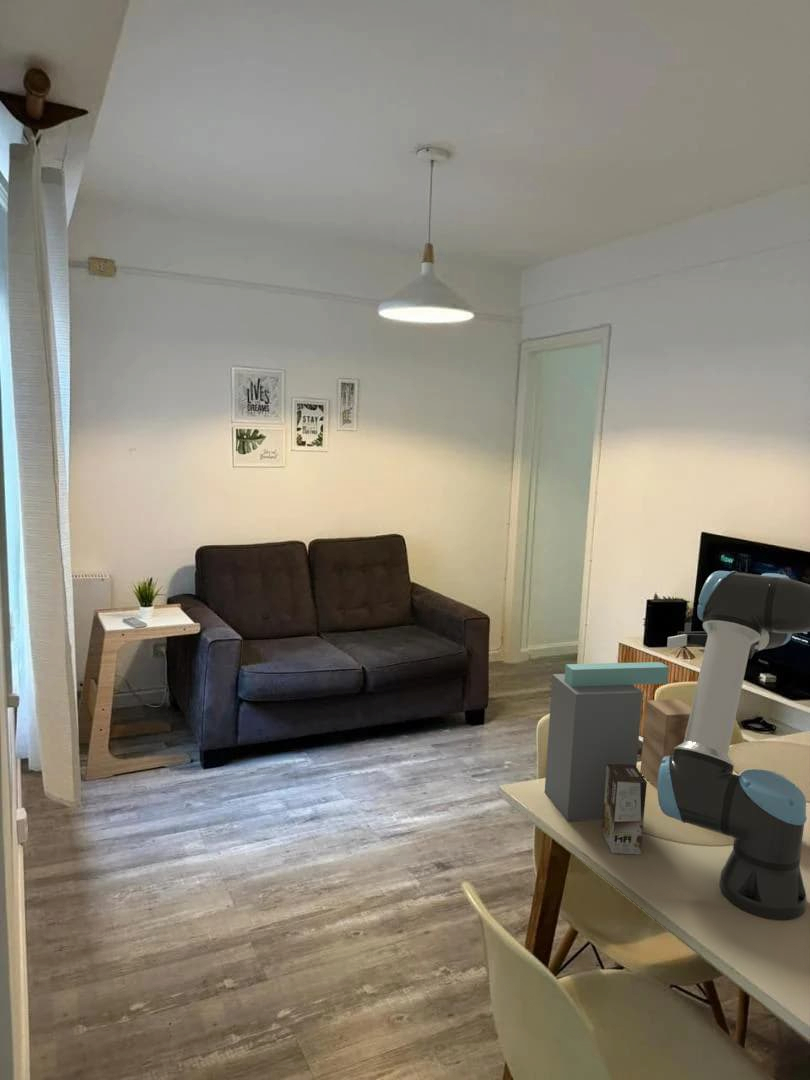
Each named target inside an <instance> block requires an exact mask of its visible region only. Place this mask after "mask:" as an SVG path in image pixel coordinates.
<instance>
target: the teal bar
mask: <svg viewBox="0 0 810 1080" xmlns="http://www.w3.org/2000/svg"><path fill="white" fill-rule="evenodd" d="M669 670H670V667H669V666H668V665H666V664H665V663H662V662H661V661H648V662H647V661H646V662H643V661H642V662H607V663H605V662H604V663H570V664H569V663H568V664H566V663H565V665H564V674H565V679H564V681H565V682H566V683H567V684H569V685H570V686H571V687H575V686H607V685H633V686H637V685H661V684H662V685H663V684H665V685H667V684H668V681H669Z"/></svg>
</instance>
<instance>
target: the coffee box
mask: <svg viewBox="0 0 810 1080" xmlns="http://www.w3.org/2000/svg"><path fill="white" fill-rule="evenodd" d="M647 784H648V781H647V780H646V779H645V778H644V777H643V776H642V775H641V773H640V769H638V768H637V766H635V765H631V764H607V769H606V783H605V797H604V812H603V819H602V828H601V833H602V835H603V837H604V840H605V841H606V844H607V845H608V848H609V850H610V852H611V853H612V854H623V855H624V854H625V855H638V856H639V855H641V852H642V851H641V850H642V840H643V831H644V829H643V827H644V817H645V807H646V806H645V805H646V797H647Z"/></svg>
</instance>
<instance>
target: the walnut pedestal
mask: <svg viewBox="0 0 810 1080" xmlns="http://www.w3.org/2000/svg"><path fill="white" fill-rule="evenodd" d="M691 708H692V704H690V703H688V702H687V701H685V700H684V699H682V698H680V699H679V698H678V699H676V698H675V699H650V700H648V699H647V700H646V701H645V711H644V712H645V713H644V723H643V736H642V737H643V738H642V749H641V757H640V758H641V760H640V769H639V772H640V773H641V775H643V776H644V777H645V778H646V779H647V780H648V781H649V782H651V783H652V784H653V785H654V786H655V787H656V788H657V786H658V774H659V768H660V764H661V762H662V759H663V758H664V757H665V756H671V757H672V755H673V751H674V748H675V747H677V746H678V745H680V744H682V743H683V742H684V739H685V734H686V730H687V726H688V721H689V717H690V712H691ZM644 777H643V778H644ZM645 778H644V779H645ZM646 779H645V780H646ZM647 780H646V781H647ZM648 781H647V782H648ZM649 782H648V783H649ZM652 784H651V785H652ZM653 785H652V786H653ZM654 786H653V787H654ZM655 787H654V788H655ZM656 788H655V789H656Z"/></svg>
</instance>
